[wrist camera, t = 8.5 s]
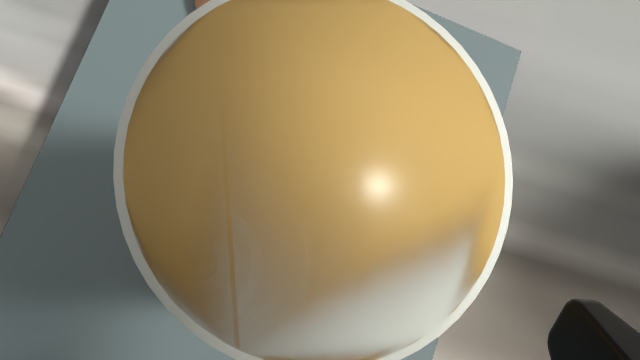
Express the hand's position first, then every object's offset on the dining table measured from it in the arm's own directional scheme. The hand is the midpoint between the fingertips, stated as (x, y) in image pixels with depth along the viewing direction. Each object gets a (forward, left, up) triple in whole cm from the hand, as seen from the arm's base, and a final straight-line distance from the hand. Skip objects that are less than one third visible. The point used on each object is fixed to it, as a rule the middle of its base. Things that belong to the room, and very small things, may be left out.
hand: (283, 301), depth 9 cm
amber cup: (+2, 0, -8) cm, 8 cm away
